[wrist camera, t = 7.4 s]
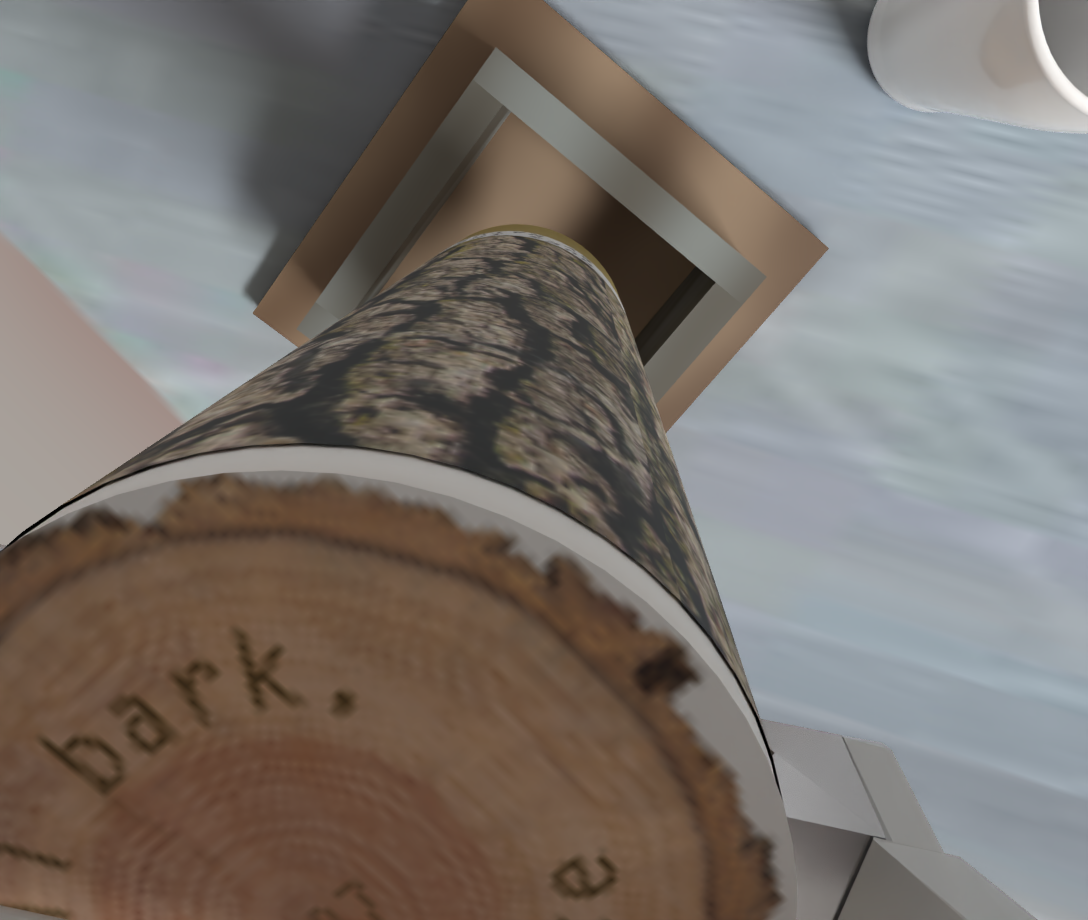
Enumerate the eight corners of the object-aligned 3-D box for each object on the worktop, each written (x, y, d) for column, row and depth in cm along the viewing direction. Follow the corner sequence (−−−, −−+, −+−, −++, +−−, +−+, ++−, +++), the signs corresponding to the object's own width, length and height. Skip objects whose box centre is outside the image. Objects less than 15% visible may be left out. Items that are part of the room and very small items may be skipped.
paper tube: (371, 322, 31) (-338, 875, 7) (525, 174, 29) (302, 229, 5) (513, 470, 32) (334, 1362, 8) (668, 337, 31) (996, 960, 7)
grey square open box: (260, 308, 39) (205, 339, 33) (498, -37, 34) (481, -70, 28) (566, 536, 41) (563, 600, 36) (822, 245, 37) (866, 265, 31)
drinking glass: (884, 167, 36) (1080, 189, 22) (812, -6, 34) (976, -104, 20) (1058, 74, 35) (1388, 34, 20) (994, -110, 33) (1307, -295, 19)
